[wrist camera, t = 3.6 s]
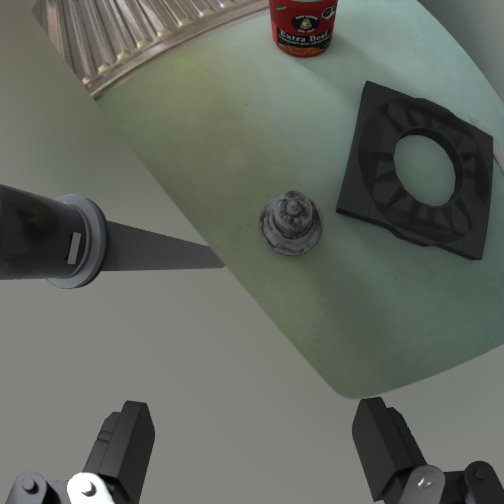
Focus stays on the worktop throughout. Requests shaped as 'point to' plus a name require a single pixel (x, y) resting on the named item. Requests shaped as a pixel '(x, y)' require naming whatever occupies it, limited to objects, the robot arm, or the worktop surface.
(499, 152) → the chef's knife
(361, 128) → the black pad
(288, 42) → the canned food
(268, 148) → the worktop surface
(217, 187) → the worktop surface
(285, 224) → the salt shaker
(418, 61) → the worktop surface
